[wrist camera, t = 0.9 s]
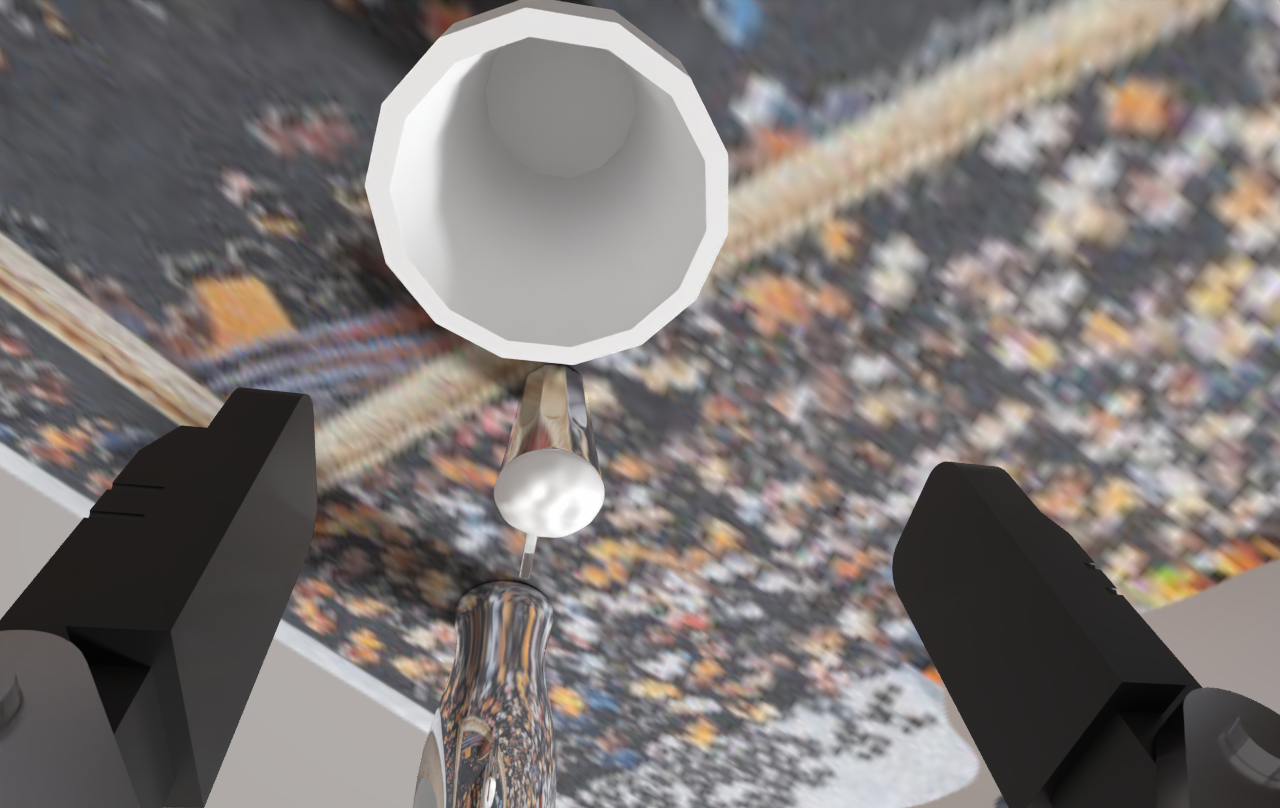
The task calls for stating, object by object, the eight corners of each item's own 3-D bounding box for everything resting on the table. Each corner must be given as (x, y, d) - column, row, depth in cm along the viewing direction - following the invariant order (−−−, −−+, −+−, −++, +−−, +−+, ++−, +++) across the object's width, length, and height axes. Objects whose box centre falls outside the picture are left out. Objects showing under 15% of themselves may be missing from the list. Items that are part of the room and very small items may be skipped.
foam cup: (714, 143, 32) (784, 269, 21) (531, 249, 34) (510, 414, 23) (598, -90, 27) (612, -81, 16) (392, 51, 29) (285, 142, 18)
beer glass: (523, 662, 50) (504, 916, 38) (428, 625, 47) (373, 884, 35) (582, 602, 47) (583, 854, 35) (484, 558, 44) (447, 815, 32)
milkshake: (492, 424, 39) (470, 565, 31) (526, 339, 37) (510, 469, 28) (575, 448, 40) (574, 591, 32) (613, 368, 38) (622, 501, 30)
